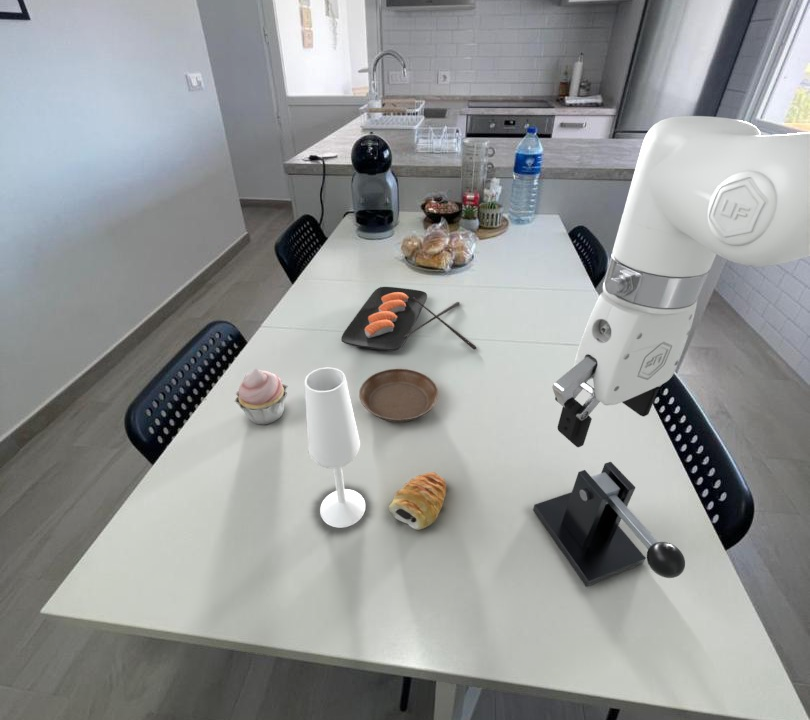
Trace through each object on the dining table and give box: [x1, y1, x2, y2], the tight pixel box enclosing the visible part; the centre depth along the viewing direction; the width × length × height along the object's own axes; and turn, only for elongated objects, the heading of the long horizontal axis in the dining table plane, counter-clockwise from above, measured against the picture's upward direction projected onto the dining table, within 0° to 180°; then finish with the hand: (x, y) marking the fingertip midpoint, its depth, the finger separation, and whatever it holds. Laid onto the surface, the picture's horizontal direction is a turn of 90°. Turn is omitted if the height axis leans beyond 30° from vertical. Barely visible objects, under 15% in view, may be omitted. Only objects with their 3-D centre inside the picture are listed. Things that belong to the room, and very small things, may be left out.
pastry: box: [388, 472, 448, 531], centre depth 65 cm, size 9×7×4 cm
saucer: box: [358, 368, 439, 423], centre depth 84 cm, size 15×15×3 cm
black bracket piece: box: [532, 461, 647, 587], centre depth 58 cm, size 12×9×12 cm
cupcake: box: [234, 368, 289, 425], centre depth 80 cm, size 9×9×10 cm
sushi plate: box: [340, 286, 477, 352], centre depth 107 cm, size 29×30×4 cm
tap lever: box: [591, 472, 686, 579], centre depth 52 cm, size 13×4×4 cm, turn 20°
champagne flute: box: [304, 366, 367, 529], centre depth 59 cm, size 7×7×24 cm
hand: (602, 422), depth 49 cm, fingers open, 9 cm apart
